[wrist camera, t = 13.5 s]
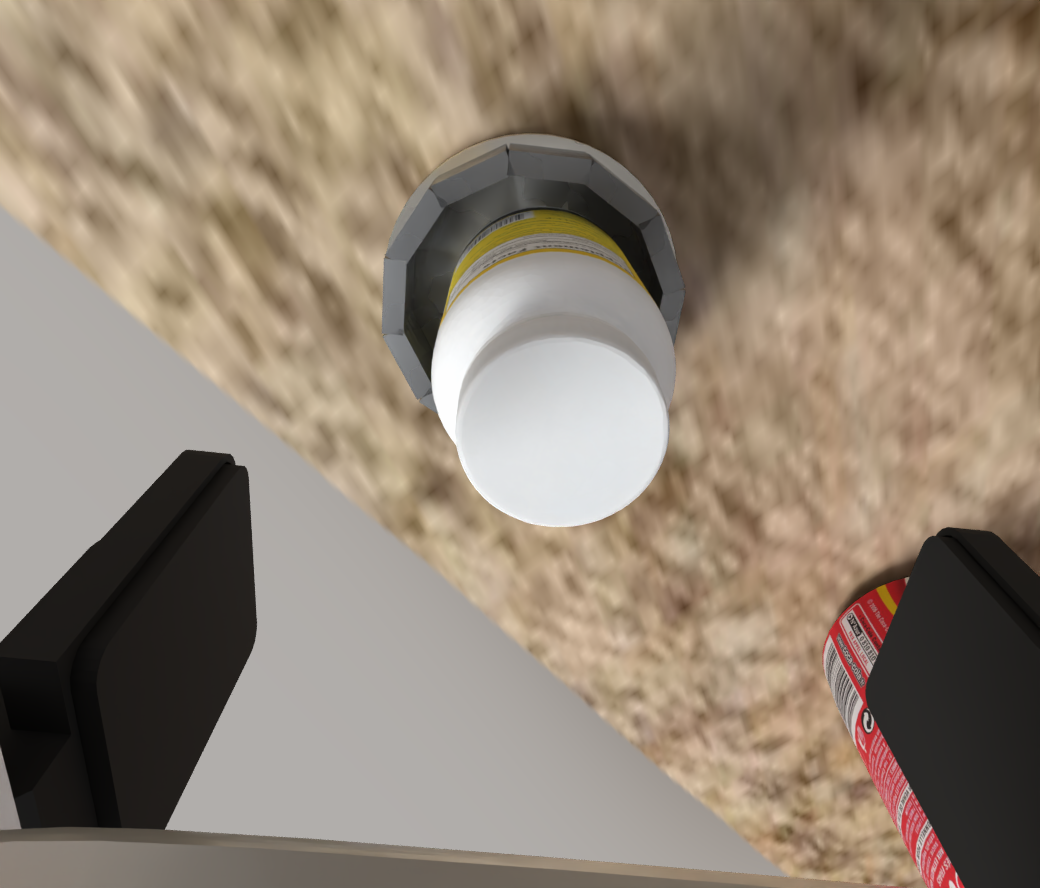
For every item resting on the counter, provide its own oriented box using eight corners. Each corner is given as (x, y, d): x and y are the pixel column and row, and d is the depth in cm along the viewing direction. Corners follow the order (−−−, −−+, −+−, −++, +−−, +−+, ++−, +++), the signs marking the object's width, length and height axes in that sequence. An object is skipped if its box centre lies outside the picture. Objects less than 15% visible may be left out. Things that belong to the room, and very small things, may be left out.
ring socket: (701, 151, 21) (725, 162, 19) (645, 429, 25) (658, 466, 23) (390, 115, 21) (375, 121, 19) (382, 404, 25) (368, 439, 22)
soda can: (1018, 652, 30) (1300, 982, 19) (849, 722, 31) (1022, 1061, 21) (962, 526, 27) (1255, 828, 16) (781, 610, 29) (939, 933, 18)
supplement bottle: (602, 395, 24) (652, 584, 15) (436, 357, 23) (388, 531, 15) (656, 227, 22) (752, 336, 13) (473, 179, 21) (443, 260, 12)
